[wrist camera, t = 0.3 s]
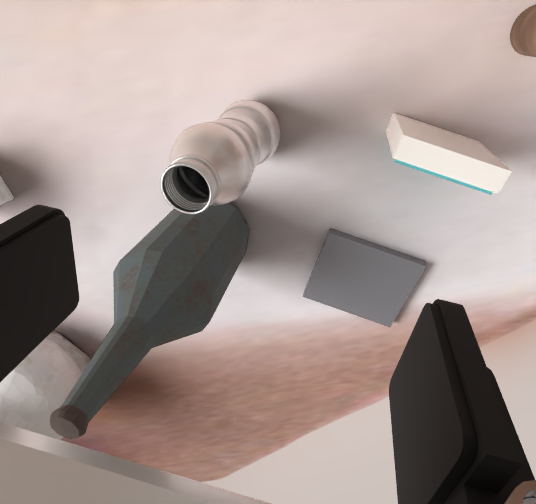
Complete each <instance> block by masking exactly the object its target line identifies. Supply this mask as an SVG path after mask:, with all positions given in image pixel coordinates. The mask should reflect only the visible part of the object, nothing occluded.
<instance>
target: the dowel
mask: <svg viewBox="0 0 536 504" xmlns="http://www.w3.org/2000/svg"><path fill="white" fill-rule="evenodd" d="M510 41H511V44H512V47H513V48H514V50H515V51H517V52H518V53H519V54H522V55H526V56H533V57H536V5H533V6H531V7H529V8H527V9H526V10H525V11H523V12H522V13H521V14H520V15H519V16H518V18H517V19H516V20H515V22H514V24H513V26H512V29H511V33H510Z"/></svg>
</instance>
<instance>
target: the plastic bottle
mask: <svg viewBox="0 0 536 504" xmlns="http://www.w3.org/2000/svg"><path fill="white" fill-rule="evenodd" d="M279 139H280V127H279V123H278V120H277V118H276V116H275V115H274V113H273V112H272V111H271V110H270V109H269V108H268V107H267V106H265V105H264V104H262V103H259V102H257V101H251V100H241V101H237V102H235V103H233V104H231V105H230V106H228V107H227V108H226V109H225V110H224V112H223V113H222V114H221V116H220V117H219V119H218V120H216V121H214V122H207V123H201V124H197V125H194V126H191V127H189V128H187V129H186V130H184V131H183V132H182V133H181V134H180V135H179V136H178V138H177V139H176V141H175V143H174V145H173V148H172V150H171V154H170V166H169V167H168V168H166V170H165V171H164V173H163V175H162V177H161V190H162V193H163V196H164V198H165V199H166V201H167V202H168V203H169V204H170V205H171V206H172V207H173V208H174V209H176V210H178V211H180V212H182V213H185V214H198V213H200V212H203V211H204V210H206V209H207V208H208V207H209V206H210V205H222V204H226V203H229V202H232V201H234V200H236V199H237V198H238V197H240V196H241V195H242V194H243V193H244V191H245V190H246V188H247V186H248V184H249V182H250V180H251V177H252V173H253V170H254V168H255V167H256V165H258V164H260V163H263V162H264V161H266V160H267V159H269V158H270V157H271V156H272V155H273V154H274V153H275V151H276V149H277V147H278V144H279Z"/></svg>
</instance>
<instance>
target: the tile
mask: <svg viewBox="0 0 536 504" xmlns="http://www.w3.org/2000/svg"><path fill="white" fill-rule="evenodd" d="M386 135H387V139H388V142H389V146H390V150H391V153H392V157H393V159H394V162H396V163H399V164H402V165H405V166H408V167H411V168H414V169H417V170H420V171H423V172H426V173H429V174H432V175H435V176H438V177H440V178H443V179H446V180H449V181H452V182H455V183H458V184H461V185H464V186H467V187H470V188H473V189H476V190H479V191H482V192H485V193H488V194H492V192H494V193H497V194H498V193H499V191H500V189H501V188H502V186H503V185H504V183H505V182H506V180H507V179H508V177H509V175H510V174H511V172H512V171H511V170H510V169H509V168H508V167H507V166H506V165H504V164H503V163H502V162H501V161H500V160H499V159H498V158H497V157H496V156H495V155H494V154H492V153H491V152H490V151H489V150H488V149H487V148H486V147H485V146H484V145H483V144H482V143H480V142H479V141H477V140H474V139H471V138H468V137H465V136H462V135H459V134H456V133H453V132H450V131H447V130H444V129H441V128H438V127H435V126H432V125H429V124H426V123H423V122H420V121H417V120H414V119H411V118H408V117H405V116H402V115H399V114H396V113H394V114H393V116H392V119H391V121H390V123H389V125H388V128H387V130H386Z"/></svg>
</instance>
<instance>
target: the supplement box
mask: <svg viewBox="0 0 536 504" xmlns="http://www.w3.org/2000/svg"><path fill="white" fill-rule="evenodd" d="M13 199H14V197H13V195H12V194H11V192H10V190H9V188H8V187H7V185H6V184H5V182H4V180H3V179H2V177H1V176H0V206H1V205H3V204H5V203H7V202H9V201H11V200H13Z"/></svg>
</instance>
